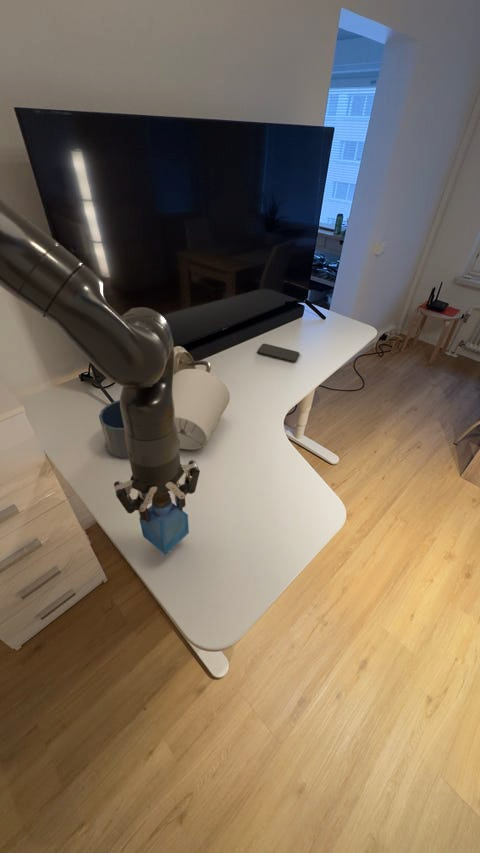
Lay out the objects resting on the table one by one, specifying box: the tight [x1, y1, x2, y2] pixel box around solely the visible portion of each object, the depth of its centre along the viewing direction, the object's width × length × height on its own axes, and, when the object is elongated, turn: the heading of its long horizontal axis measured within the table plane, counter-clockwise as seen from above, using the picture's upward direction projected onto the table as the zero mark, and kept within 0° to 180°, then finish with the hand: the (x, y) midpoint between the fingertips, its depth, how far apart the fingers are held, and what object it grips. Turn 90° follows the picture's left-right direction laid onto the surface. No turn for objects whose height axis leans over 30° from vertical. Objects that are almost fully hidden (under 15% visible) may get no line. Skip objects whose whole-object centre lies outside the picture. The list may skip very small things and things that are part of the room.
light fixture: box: [172, 345, 231, 451], centre depth 96 cm, size 17×19×34 cm
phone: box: [257, 343, 300, 363], centre depth 130 cm, size 7×1×15 cm
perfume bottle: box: [138, 491, 190, 556], centre depth 63 cm, size 6×6×12 cm
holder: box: [98, 399, 129, 460], centre depth 87 cm, size 12×12×10 cm
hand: (163, 512), depth 62 cm, fingers closed on perfume bottle, 5 cm apart
